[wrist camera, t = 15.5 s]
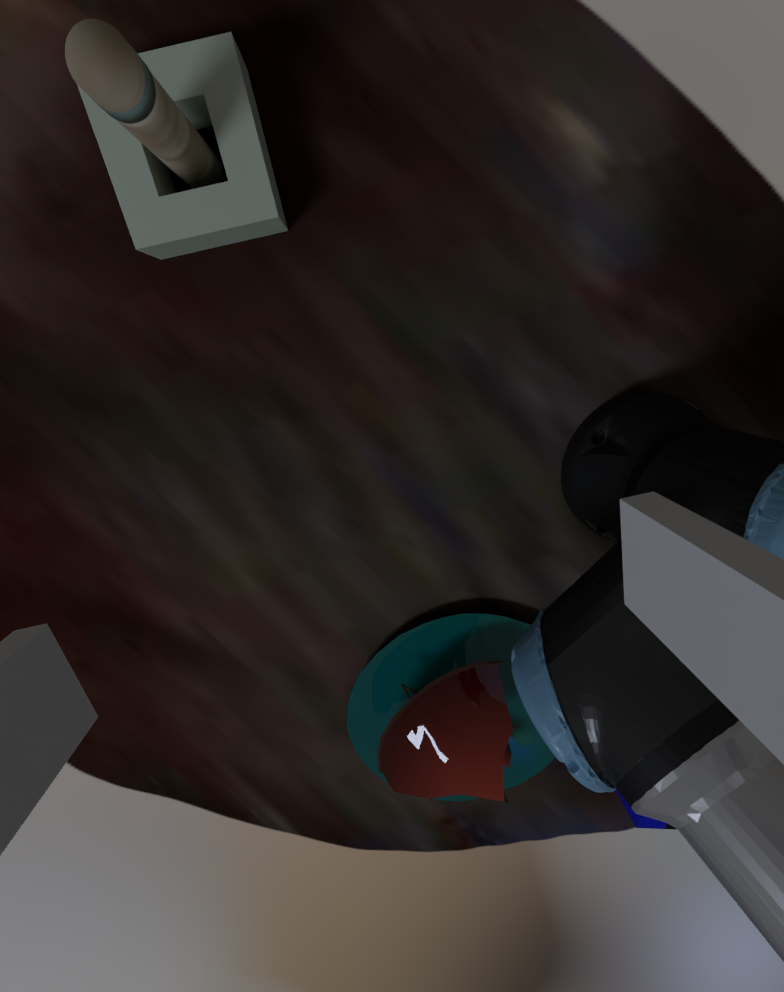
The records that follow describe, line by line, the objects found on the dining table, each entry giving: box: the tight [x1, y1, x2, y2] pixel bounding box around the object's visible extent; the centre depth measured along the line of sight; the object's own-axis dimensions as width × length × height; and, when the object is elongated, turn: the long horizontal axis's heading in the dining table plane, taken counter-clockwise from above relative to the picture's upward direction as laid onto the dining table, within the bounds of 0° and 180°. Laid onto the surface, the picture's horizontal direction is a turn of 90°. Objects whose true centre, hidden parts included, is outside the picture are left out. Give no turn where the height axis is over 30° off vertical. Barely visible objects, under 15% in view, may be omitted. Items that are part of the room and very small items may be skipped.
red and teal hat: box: [347, 613, 555, 804], centre depth 50 cm, size 28×28×11 cm
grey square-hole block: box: [77, 32, 288, 260], centre depth 34 cm, size 11×11×4 cm
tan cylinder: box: [65, 19, 223, 189], centre depth 29 cm, size 3×3×15 cm
